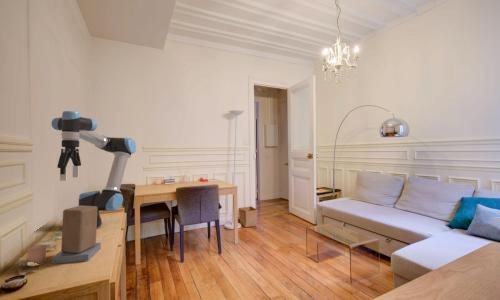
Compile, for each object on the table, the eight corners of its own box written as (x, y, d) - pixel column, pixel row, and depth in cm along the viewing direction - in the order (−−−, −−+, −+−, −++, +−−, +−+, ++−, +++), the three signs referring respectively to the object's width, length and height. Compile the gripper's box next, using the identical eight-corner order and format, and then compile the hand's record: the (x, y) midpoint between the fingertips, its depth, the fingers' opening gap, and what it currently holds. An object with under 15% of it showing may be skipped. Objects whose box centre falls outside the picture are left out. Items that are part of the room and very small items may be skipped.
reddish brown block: (33, 260, 102) (33, 245, 102) (48, 259, 103) (49, 244, 103) (23, 267, 96) (24, 250, 96) (39, 265, 97) (40, 249, 97)
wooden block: (79, 254, 102) (80, 210, 103) (60, 252, 104) (62, 209, 104) (96, 245, 112) (98, 206, 113) (79, 244, 113) (81, 205, 114)
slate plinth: (69, 250, 113) (69, 244, 113) (100, 248, 116) (100, 242, 116) (52, 263, 99) (52, 257, 99) (88, 260, 102) (88, 254, 103)
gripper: (73, 140, 132) (72, 176, 132) (48, 138, 108) (48, 182, 108) (88, 140, 134) (87, 176, 134) (67, 139, 110) (66, 182, 110)
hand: (69, 178), depth 121 cm, fingers open, 13 cm apart
